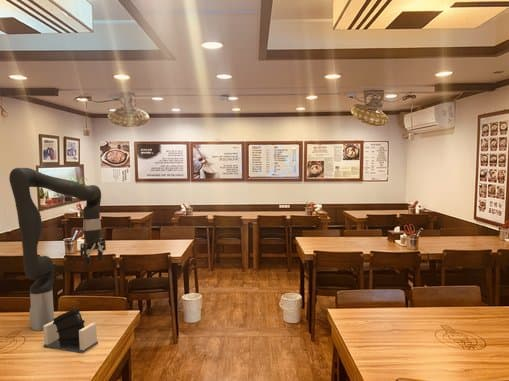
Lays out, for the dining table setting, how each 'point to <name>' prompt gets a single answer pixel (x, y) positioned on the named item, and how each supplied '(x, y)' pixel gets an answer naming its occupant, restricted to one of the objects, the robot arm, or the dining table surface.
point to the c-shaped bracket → (85, 335)
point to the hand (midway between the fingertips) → (94, 262)
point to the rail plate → (67, 346)
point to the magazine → (69, 326)
